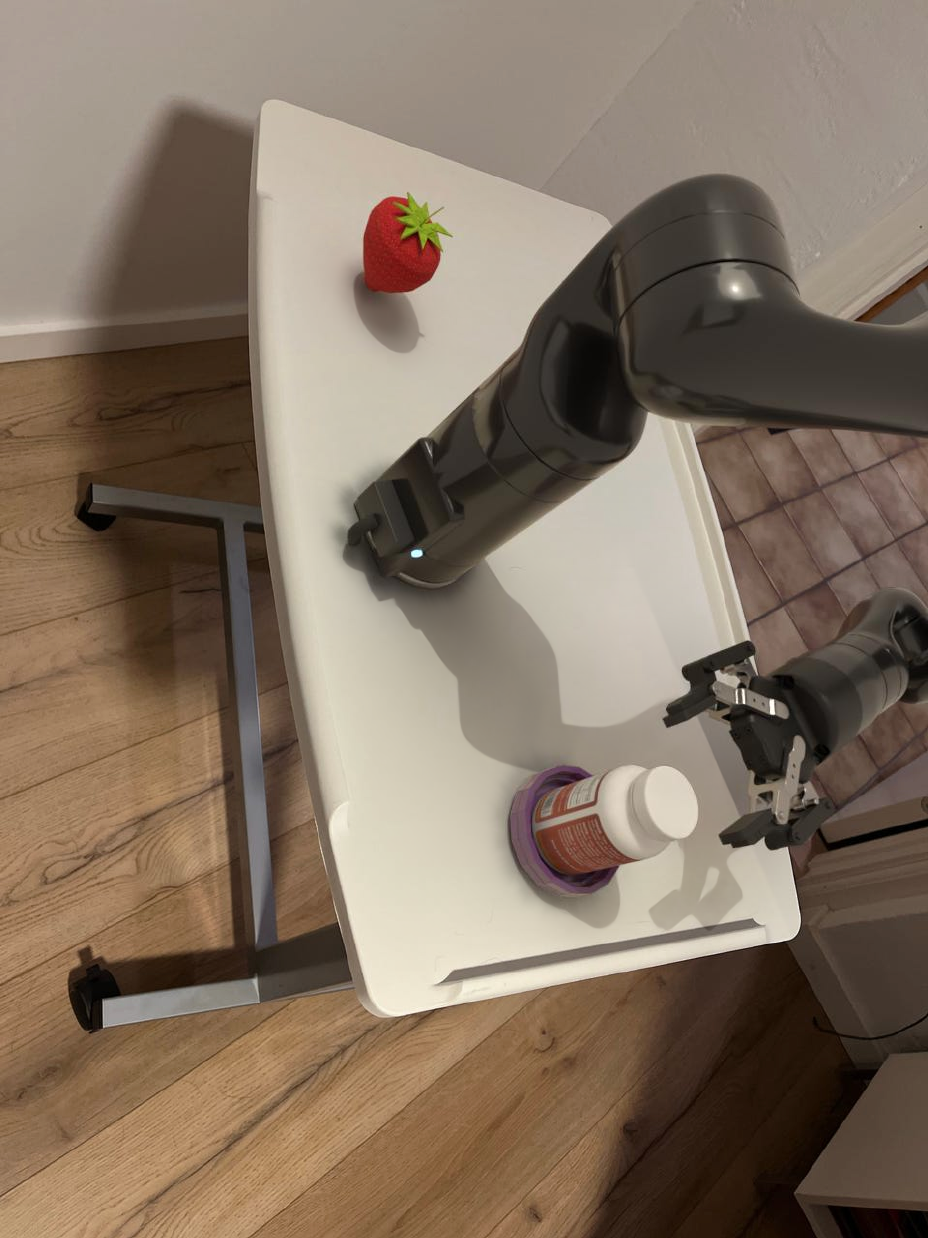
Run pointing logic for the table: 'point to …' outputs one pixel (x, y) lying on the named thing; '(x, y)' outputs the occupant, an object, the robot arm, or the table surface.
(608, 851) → the pill bottle
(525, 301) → the table surface
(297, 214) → the table surface
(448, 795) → the table surface
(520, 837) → the plum lid
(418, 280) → the strawberry
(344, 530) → the table surface
